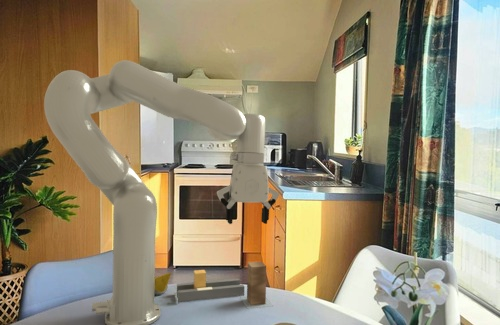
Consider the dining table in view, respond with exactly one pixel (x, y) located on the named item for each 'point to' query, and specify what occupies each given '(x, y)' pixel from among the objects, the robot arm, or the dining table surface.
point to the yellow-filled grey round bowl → (161, 283)
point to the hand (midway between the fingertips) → (247, 222)
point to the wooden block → (256, 283)
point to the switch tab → (199, 279)
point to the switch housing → (210, 290)
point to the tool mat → (255, 305)
